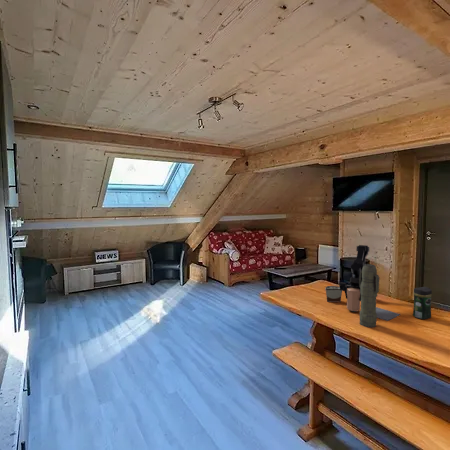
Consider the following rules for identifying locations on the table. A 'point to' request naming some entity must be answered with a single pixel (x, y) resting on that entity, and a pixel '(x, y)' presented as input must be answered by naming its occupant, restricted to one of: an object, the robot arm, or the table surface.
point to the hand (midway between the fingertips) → (353, 299)
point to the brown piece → (353, 299)
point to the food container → (333, 293)
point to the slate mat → (385, 314)
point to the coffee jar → (422, 303)
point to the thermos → (368, 295)
